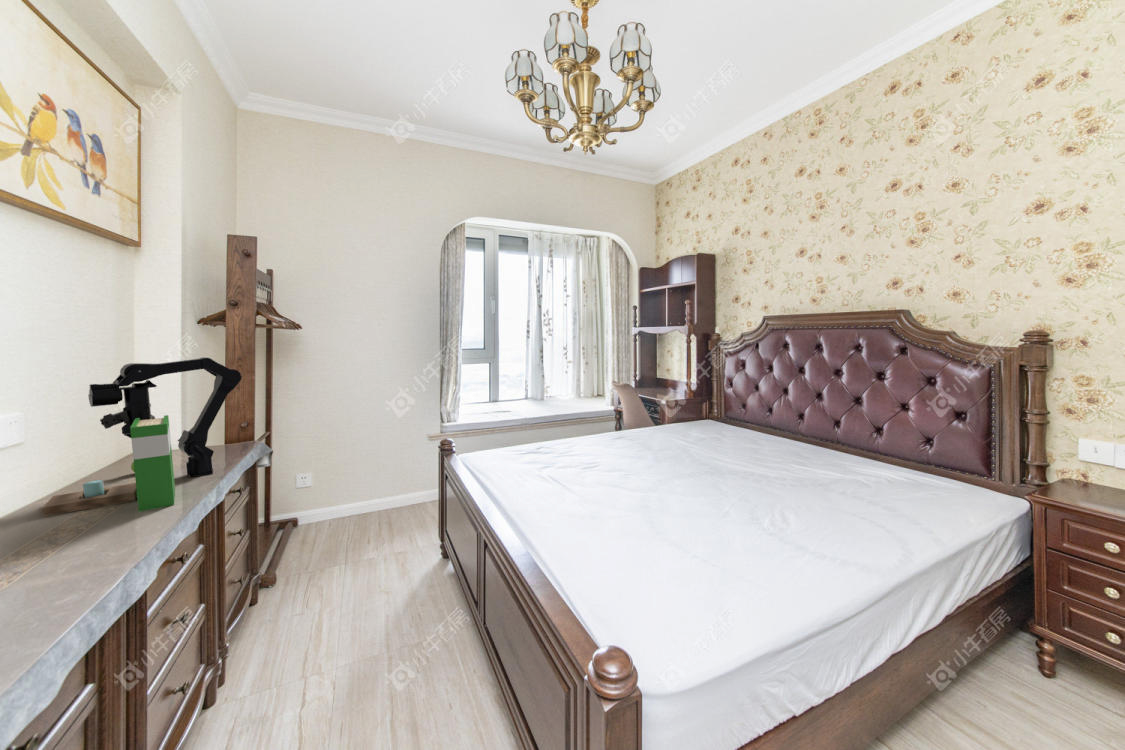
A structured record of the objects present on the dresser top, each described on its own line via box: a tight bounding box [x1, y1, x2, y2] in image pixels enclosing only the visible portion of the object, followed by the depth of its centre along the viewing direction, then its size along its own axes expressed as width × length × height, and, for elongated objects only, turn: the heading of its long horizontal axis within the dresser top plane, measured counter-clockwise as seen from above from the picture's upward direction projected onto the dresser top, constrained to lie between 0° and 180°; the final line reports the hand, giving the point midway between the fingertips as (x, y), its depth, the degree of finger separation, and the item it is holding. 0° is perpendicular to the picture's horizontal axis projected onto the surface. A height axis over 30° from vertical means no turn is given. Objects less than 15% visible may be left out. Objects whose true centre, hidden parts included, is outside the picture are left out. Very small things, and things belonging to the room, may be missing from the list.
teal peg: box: [82, 479, 105, 498], centre depth 128 cm, size 4×4×6 cm
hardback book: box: [130, 414, 176, 513], centre depth 129 cm, size 18×7×24 cm, turn 41°
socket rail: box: [41, 482, 137, 517], centre depth 128 cm, size 18×11×2 cm, turn 129°
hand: (142, 449), depth 141 cm, fingers open, 9 cm apart
